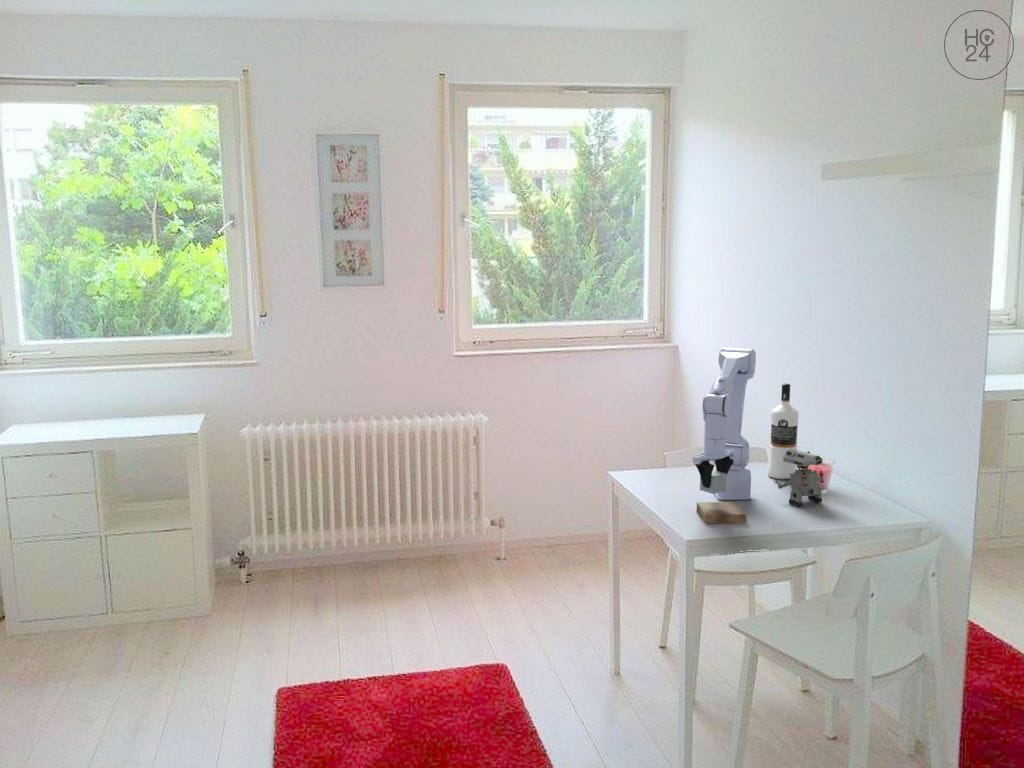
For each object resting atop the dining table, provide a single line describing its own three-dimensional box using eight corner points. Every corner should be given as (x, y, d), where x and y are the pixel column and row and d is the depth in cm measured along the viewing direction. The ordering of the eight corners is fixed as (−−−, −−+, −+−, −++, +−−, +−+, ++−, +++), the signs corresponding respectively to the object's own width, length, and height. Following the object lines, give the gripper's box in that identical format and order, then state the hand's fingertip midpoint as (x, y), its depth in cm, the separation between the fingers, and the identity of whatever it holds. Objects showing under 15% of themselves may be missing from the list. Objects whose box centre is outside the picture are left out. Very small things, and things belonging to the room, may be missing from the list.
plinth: (735, 510, 260) (735, 502, 259) (745, 523, 249) (746, 514, 249) (696, 511, 260) (696, 502, 259) (705, 523, 249) (705, 514, 248)
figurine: (796, 494, 275) (798, 445, 272) (826, 504, 265) (828, 453, 262) (773, 499, 270) (775, 449, 268) (803, 509, 260) (805, 458, 258)
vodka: (800, 474, 296) (804, 382, 290) (792, 481, 288) (797, 387, 283) (771, 471, 300) (775, 380, 295) (763, 477, 293) (767, 384, 287)
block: (712, 486, 259) (713, 469, 258) (726, 491, 255) (726, 473, 254) (699, 489, 256) (700, 472, 255) (713, 494, 252) (713, 476, 251)
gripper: (723, 431, 260) (721, 478, 262) (685, 438, 252) (684, 486, 254) (742, 436, 254) (740, 483, 256) (703, 443, 246) (702, 492, 248)
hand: (713, 485), depth 255 cm, fingers closed on block, 5 cm apart
